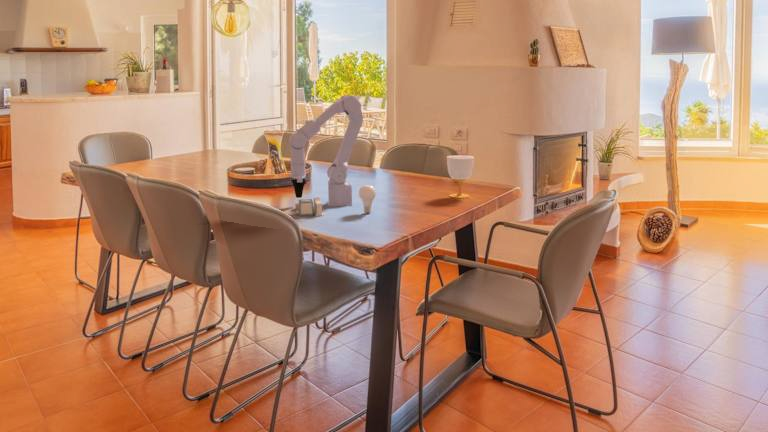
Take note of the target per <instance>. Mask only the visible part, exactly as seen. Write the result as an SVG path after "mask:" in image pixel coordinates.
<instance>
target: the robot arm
mask: <svg viewBox="0 0 768 432" xmlns="http://www.w3.org/2000/svg"><path fill="white" fill-rule="evenodd" d="M342 113H345V114H346V116H347V118H348V120H349V122H348V124H347V127H346V130H345V132H344V135H343V138H342V141H341V144H340V146H339V149H338V151H337V154H336V156H335V159H333V162H332V164H331V165H330V166H328V169H327V171H326V172H327V176H328V178H329V180H328V181H327V189H328V190H327V191H328V192H327V193H328V194H327V195H328V196H327V197H328V200H327V201H326V204H327V206H328V207H340V206H342V207H343V206H344V207H346V206H353V195H352V194H353V190H352V188H353V187H352V183H351V182H347V181H346V180H347V178H348V177H347V176H348V173H347V170H348V168H349V160H350V157H351V154H352V152H353V149H354V146H355V144H356V141H357V138H358V136H359V133H360V130H361V128H362V125H363V123H364V117H363V112H362V104H361V102H360V100H359V99H358V98H357V97H356V96H354V95H349V94H344V95H342V96H341V97H340V98H339V99H336V100H335V101H334V102H332V103H331V104H330V105H329V107H327V108H326V109H325V110H324V111H323V112H322V113H321V114H320V115H318V116H317V118H315V119H309V120H306V121H305V122H304V124H303V125H302V126H301V127H300V128H299V129H298V128H297V129H296V130H295V132H293V133H291V135H290V136H289V138H288V143H289V145H290V153H289V155H290V173H289V174H287V177H288V178H293V179H291V180H290V182H291V183H292V185H293V189H294V194H295V198H297V199H299V198H301V199H303V198H302V197H303V192H304V187H305V184H306V182H307V181H306V177H307V175H306V151H305V146H306V145H307V142H308V141H310V140H311V139H312V138H313V137H315V136H316V135H317V134H318V133H319V132H320V131H321V127H322V125H324V124H325V123H326V122H328V121H329V120H330V119H331V118H332V117H334V116H336V114H342Z"/></svg>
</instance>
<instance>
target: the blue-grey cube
mask: <svg viewBox="0 0 768 432" xmlns="http://www.w3.org/2000/svg"><path fill="white" fill-rule="evenodd" d="M298 203H299V214H300V215H314V212H313V209H314V200H313V199H312V198H305V199H303V198H301V199H298ZM299 214H298V215H299Z"/></svg>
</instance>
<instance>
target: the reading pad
mask: <svg viewBox="0 0 768 432" xmlns="http://www.w3.org/2000/svg"><path fill="white" fill-rule="evenodd" d="M297 215H298V217H299V218H300V217H313V215H314V214H313V215H300V214H299V212H298V213H297Z"/></svg>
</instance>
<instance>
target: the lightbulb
mask: <svg viewBox="0 0 768 432" xmlns="http://www.w3.org/2000/svg"><path fill="white" fill-rule="evenodd" d="M358 196H359V198H360V199H361V201H362V205H363V212H364V213H365V214H367V215H368V214H371V212H372V204H373V201H374V200H375V198H376V196H377V192H376V189H375V187H374V186H372V184H365V185H363V186H361V187H360V188H359V191H358Z"/></svg>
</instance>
